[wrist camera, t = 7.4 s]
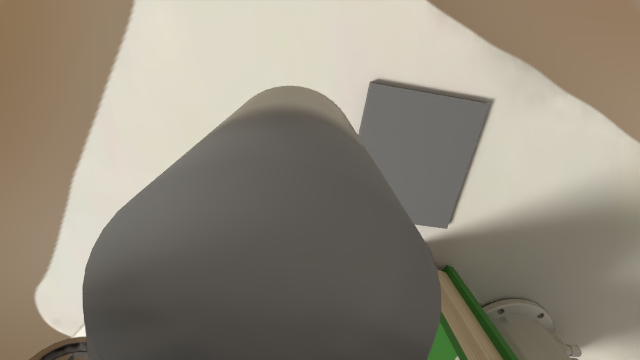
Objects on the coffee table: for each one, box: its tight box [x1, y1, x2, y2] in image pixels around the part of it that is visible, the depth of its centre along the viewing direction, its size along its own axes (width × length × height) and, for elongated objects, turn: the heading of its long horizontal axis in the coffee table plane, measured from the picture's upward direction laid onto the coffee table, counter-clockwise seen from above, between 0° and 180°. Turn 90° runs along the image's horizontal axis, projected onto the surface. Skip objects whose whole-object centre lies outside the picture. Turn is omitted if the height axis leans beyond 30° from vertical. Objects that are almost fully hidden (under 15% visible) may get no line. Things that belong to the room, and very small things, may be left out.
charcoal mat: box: [358, 82, 490, 229], centre depth 35 cm, size 12×14×1 cm
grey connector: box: [83, 86, 441, 360], centre depth 7 cm, size 4×10×9 cm, turn 170°
